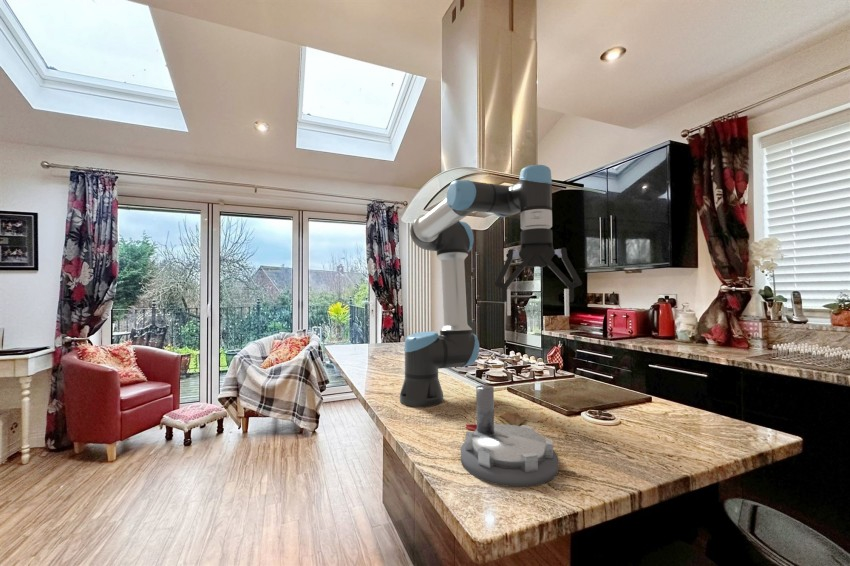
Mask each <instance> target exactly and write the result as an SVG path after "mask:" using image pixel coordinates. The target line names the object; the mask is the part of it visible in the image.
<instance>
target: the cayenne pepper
mask: <svg viewBox="0 0 850 566" xmlns="http://www.w3.org/2000/svg"><path fill="white" fill-rule="evenodd" d="M464 428H465V429H466V430H468V431H470V432H474V431H475V430H476V429H477V423H474V424H473V423H471V424H467V423H465V426H464Z"/></svg>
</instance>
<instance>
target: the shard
mask: <svg viewBox="0 0 850 566" xmlns="http://www.w3.org/2000/svg"><path fill="white" fill-rule="evenodd" d="M496 417H497V419H498V420H499V421H501V422H502V423H503V424H506V425H515V426H521V425H522V423H523V422H525V421H526V420H527V416H525V415H524V414H523V415H522V414H520V413H516V412H512V411H505V412H503V413H502V414H501V413H500V415H499V414H498V415H497V416H496Z"/></svg>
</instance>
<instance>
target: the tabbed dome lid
mask: <svg viewBox="0 0 850 566" xmlns="http://www.w3.org/2000/svg"><path fill="white" fill-rule="evenodd" d="M475 389H476V392H475V393H476V395H475V396H476V424H477V429H476V430H475V431H469V430H468V431H466V432H465V436H464V439H465V441H464V443H465V450H472V452H473V454H474V455H475V457H477V458H478V464H480V465H482V466H485V467H487V468H491V467H493V466H496V467H501V468H508V469H522V470H523V471H524V472H531V471H537V470H538V465H540V464H541V463H543V462H544V461H545V459H546V458H552V459H553V450H554V444H553V440H552V438H545V436H543V435H542V434H541V433H539V432H537V431H536V430H534V429H535V428H534V427H532V426H529V425H526V424H521V425H519V426H515V425H506V424H505V423H501V424H499V423H498V424H497V423H496V422H495V407H494V406H495V403H494V402H495V397H494V395H495V393H494V389H495V388H494V386H492V385H486V384H482V385H477V386H476V388H475Z"/></svg>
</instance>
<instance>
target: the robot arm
mask: <svg viewBox="0 0 850 566" xmlns="http://www.w3.org/2000/svg"><path fill="white" fill-rule="evenodd" d="M518 178H519V181H517V182H516V183H514V184H511V185H506V184H505V185H504V184H497V183H496V184H495V183H487V182H480V181H473V180H469V179H454V180H453V181H452V182H451V183H450V184H449V187H448V188H447V191H446V197H445V198H444V199H443V200H442V201H441V202H439V203H438V204H437V205H436V206H435V207H433V208H432V209H430V211H428V212H427V213H426V214H421V215H419V216H418V217H417V218H415V219H414V220H413V222H412V223H411V225H410V229H409V232H410V238H411V240H412V241H413V243H414V244H415V245H416V246H417V247H418V248H420V249H423V250H425V251H429V252H430V251H431V252H436V257H437V259H438V260H440V263H441V265H440V267H441V287H442V288H441V289H442V291H441V292H442V307H443V308H442V310H443V312H442V313H443V325H442V327H441V328H440V329H439V333H438V332H437V331H432V330H430V331H420V332H415V333H412V334H409V335H407V336H406V337H405V340H404V349H403V352H404V379H403V383H402V387H401V389H400V393H399V402H400V403H401V404H402V405H405V406H409V407H417V408H424V407H426V408H428V407H434V406H438V405H440V404H442V403H443V402H444V392H443V390H442V386H441V383H440V382H441V381H440V379H439V370H440V369H450V368H451V369H452V368H464V367H468V366H472V365H474V364H475V362H476V361H477V359H478V357H479V354H480V342H479V339H478V336H477V335H476V334H475V333H473V329H472V327H470V325H468V313H467V309H468V307H467V294H466V293H467V289H466V269H465V260H466V259H467V257H468V256H469V252H471V250H472V248H473V247H474V246H473V244H474V243H475V242H474V241H475V240H474V233H473V230H472V227H471V226H470V224H468V223H467V222H465V221H462V220H463V219H464V218H466V217H467V216H469V215H471V214H472V213H475V212H477V213H478V212H479V213H489V214H490V213H491V214H494V215H495V216H497V217H499V218H506V217H512V216H514V215H516V214H519V213H520V214H519V216H520V221H519V222H520V229H521V232H520V249H519V250H513V249H511V248H510V249H508V251H507V258H506V260H505V262H504V264H503V266H502V268H501V271H500V273H499V274H498V277H497V278H496V281H495V283H494V286H495V287H498V288H500V289H501V290H502V292H501V293H502V299H501V300H502V302H504V303H506V309H507V310H506V314H507V315H506V316H511V315H512V311H511V309H512V308H511V307H512V305H511V303H512V302H511V296H512V295H511V294H512V293H511V290H512V289H509V287H510V285H511V284H512V283H513V282H514V281H515V279H516V278H517V277H518V276H519V275H520V274H521V272H522V271H523V270H524V269H525V268H526V267H529V268H536V267H538V268H545V267H548V268H549V269H550V271H552V273H554V274H555V276H556V277H557V278H559V280H560V281H561V282H562V283H563V284H564V286H566V287H567V288H564V289H563V290H564V291H563V294H564V295H563V297H564V299H563V300H564V316H565V317H570V303H573V302H574V301H575V288H577V287H580V286H582V285H583V281H582V280H581V278H580V276H579V274H578V272H577V271H576V269H575V268H574V266H573V264H572V262H571V260H570V259H569V257H568V252H567V251H568V249H567V248H566V247H564V246H563V247H562V248H558V249H557V248H556V249H554V245H553V230H552V229H551V228H552V227H553V200H552V199H553V187H552V186H553V180H552V171H551V168H550V167H549V166H548V165H544V164H532V165H527V166H525V167H523V168H522V169H521V170H520V171H519V177H518ZM555 255H556V256H557V257H558V258H559V259H560V258H561V261H562V262H563V265H564V266H565V269H566V270H567V272H568V273H569V276H570V277H571V279H572V281H573V282H572V281H571V280H570V279H569V278H568V277H567V276H566V275H565V274H564V273H563V272H562V271H561V270H560V268H559V267H558V266H557V265H556V264H555V263H554V262H553V261H552V258H553V257H554V256H555ZM518 256H519V258H521V260H522V261H521V263H520V264H519V265H518V266H517V267H516V269H515V270H514V271H513V272H512V274H511V275H510V276H509V277H508V278H507V279H506V281H504V283H503V280H504V278H505V277H506V274H507V272H508V270H509V268H510V266H511V264H512V262H513V260H515V259H517V257H518Z"/></svg>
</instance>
